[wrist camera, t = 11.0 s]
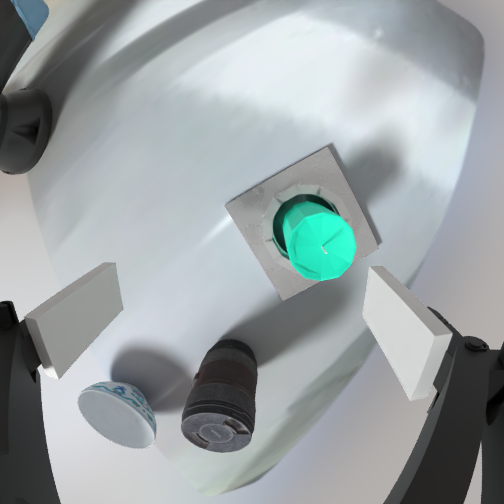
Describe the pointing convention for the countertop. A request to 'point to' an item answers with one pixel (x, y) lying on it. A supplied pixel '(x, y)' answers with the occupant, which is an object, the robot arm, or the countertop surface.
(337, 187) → the duct flange
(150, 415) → the chinaware
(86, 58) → the countertop surface
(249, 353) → the camera lens
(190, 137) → the countertop surface
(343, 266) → the candle
